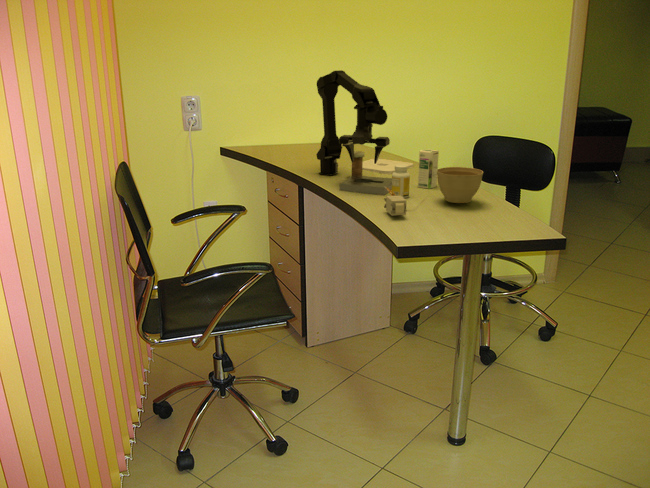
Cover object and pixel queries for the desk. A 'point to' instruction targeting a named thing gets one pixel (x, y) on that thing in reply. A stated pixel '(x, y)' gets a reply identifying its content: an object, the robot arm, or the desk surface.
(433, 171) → the syrup box
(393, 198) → the electrical component
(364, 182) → the keyhole plate
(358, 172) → the walnut peg
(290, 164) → the desk surface
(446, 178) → the planter bowl
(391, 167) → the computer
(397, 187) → the pill bottle
